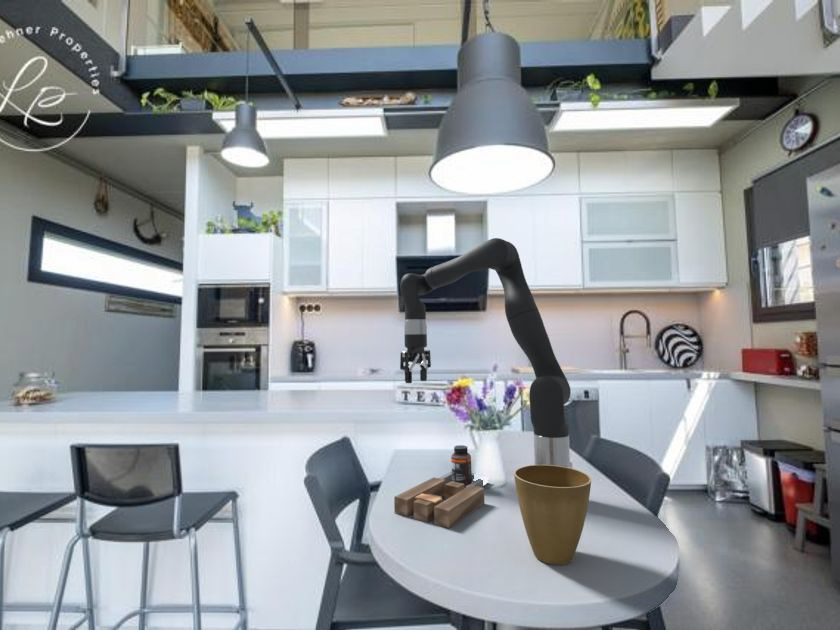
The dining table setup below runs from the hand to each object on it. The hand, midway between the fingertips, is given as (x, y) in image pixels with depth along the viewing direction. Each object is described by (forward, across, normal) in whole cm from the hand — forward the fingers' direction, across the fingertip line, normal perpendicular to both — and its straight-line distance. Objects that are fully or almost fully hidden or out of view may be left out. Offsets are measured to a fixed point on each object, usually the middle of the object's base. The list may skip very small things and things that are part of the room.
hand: (416, 381), depth 144 cm
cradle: (+29, -4, -19) cm, 35 cm away
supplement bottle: (+30, -4, -19) cm, 35 cm away
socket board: (+29, -22, -23) cm, 43 cm away
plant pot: (+30, -30, -55) cm, 69 cm away
